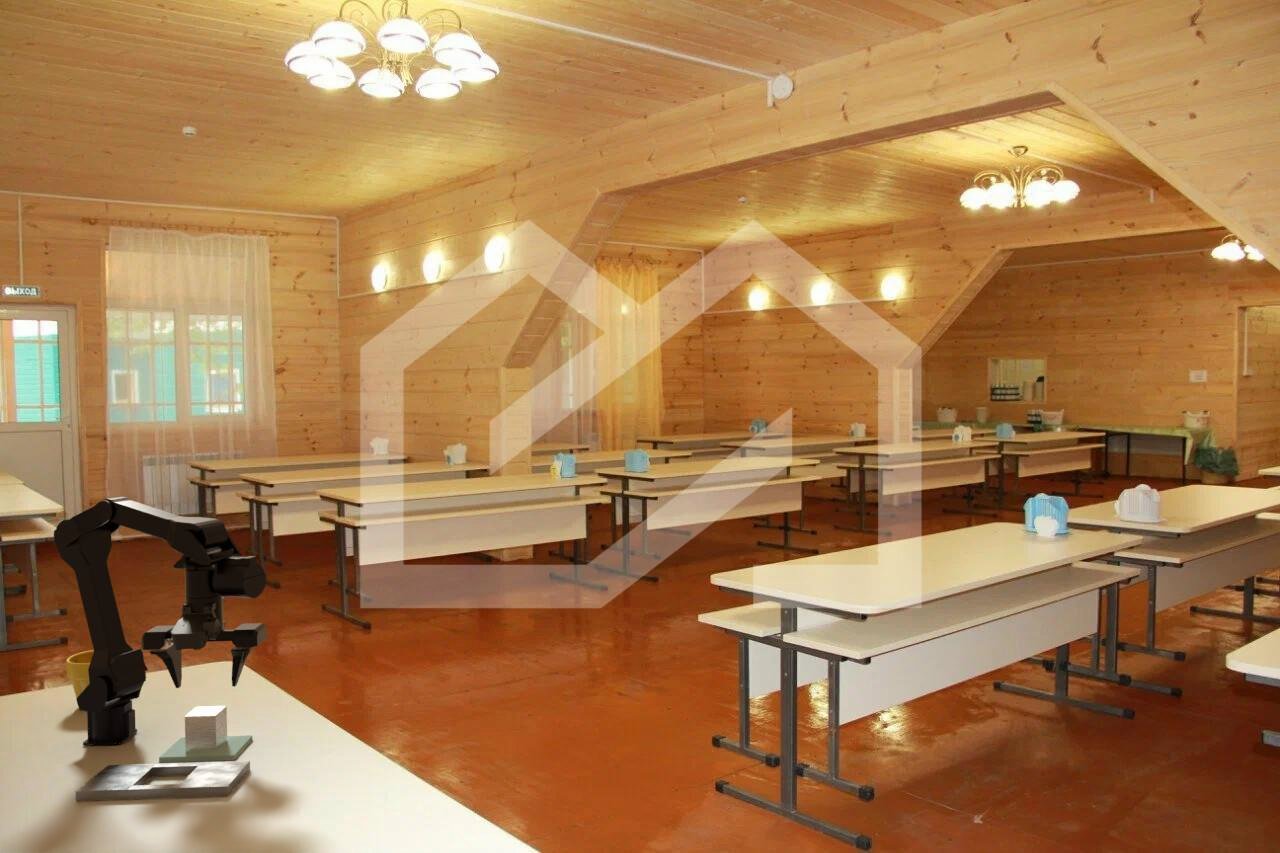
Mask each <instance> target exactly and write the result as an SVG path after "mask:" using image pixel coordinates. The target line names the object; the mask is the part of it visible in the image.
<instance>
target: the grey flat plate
mask: <svg viewBox="0 0 1280 853" xmlns="http://www.w3.org/2000/svg"><path fill="white" fill-rule="evenodd" d="M250 771H251V760H225V761H192V762H158V763H138V764H137V763H132V764H131V763H128V764H107V765H106V766H105V767H104V768H102V769H101V770H100V771H99V772H97V773H96V774H94V776H92V777H91V778H90V779H89V780H88V781H87V782H85V783H84V784H83V785H81V786H80V787H79V788H78V789H76V790H75V802H89V801H90V802H93V801H94V802H96V801H119V800H120V801H126V800H127V801H128V800H152V799H155V800H156V799H158V800H159V799H179V798H180V799H184V798H185V799H186V798H189V799H190V798H217V797H219V798H220V797H229V796H230V794H232V793H233V790H234V789H236V787H238V785H239V783H240V782H242V780H243V779H244V778H245V777H246V775H248V773H249V772H250ZM184 775H185V778H184V780H183V781H182V782H181V783H173V784H172V783H169V784H168V783H167V784H147V782H149V781H150V780H151V779H152V778H153V777H155V778H156V777H157V778H158V777H177V776H178V777H182V776H184ZM186 775H189V776H186Z"/></svg>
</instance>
